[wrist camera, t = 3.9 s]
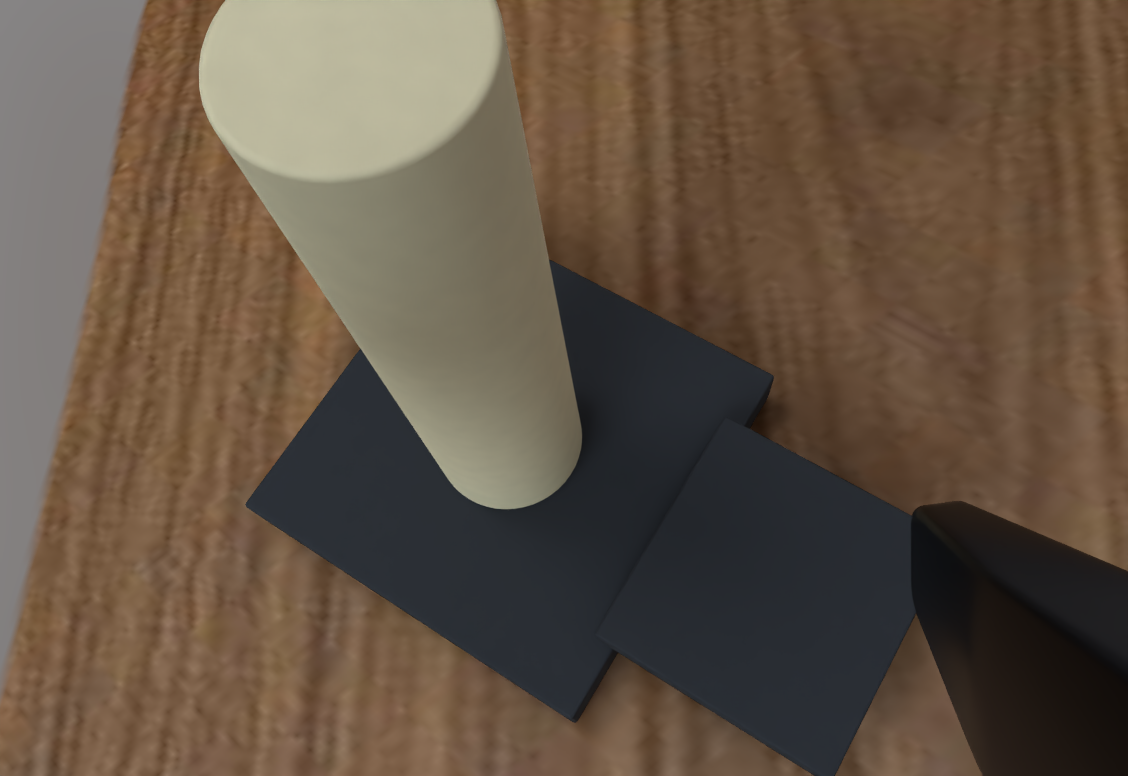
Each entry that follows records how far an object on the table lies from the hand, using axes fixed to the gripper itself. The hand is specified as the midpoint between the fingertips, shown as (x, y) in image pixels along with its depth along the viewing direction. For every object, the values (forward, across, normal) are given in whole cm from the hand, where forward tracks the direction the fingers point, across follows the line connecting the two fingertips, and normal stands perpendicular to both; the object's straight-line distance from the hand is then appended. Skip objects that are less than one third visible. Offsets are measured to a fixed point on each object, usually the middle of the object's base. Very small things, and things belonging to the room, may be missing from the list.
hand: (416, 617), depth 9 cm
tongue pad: (+11, -2, +5) cm, 12 cm away
